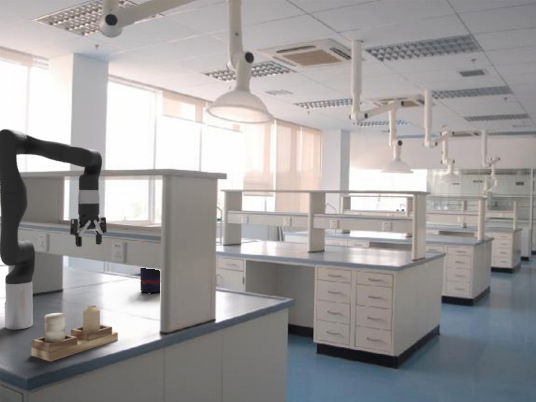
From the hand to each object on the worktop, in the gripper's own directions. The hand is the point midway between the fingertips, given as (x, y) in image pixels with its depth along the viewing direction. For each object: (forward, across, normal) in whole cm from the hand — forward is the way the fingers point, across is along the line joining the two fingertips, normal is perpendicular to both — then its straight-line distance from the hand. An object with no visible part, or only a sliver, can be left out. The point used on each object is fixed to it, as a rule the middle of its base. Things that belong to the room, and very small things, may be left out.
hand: (88, 245), depth 185 cm
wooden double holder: (+32, +16, +14) cm, 38 cm away
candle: (+29, +10, +14) cm, 34 cm away
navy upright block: (+32, -62, -31) cm, 77 cm away
